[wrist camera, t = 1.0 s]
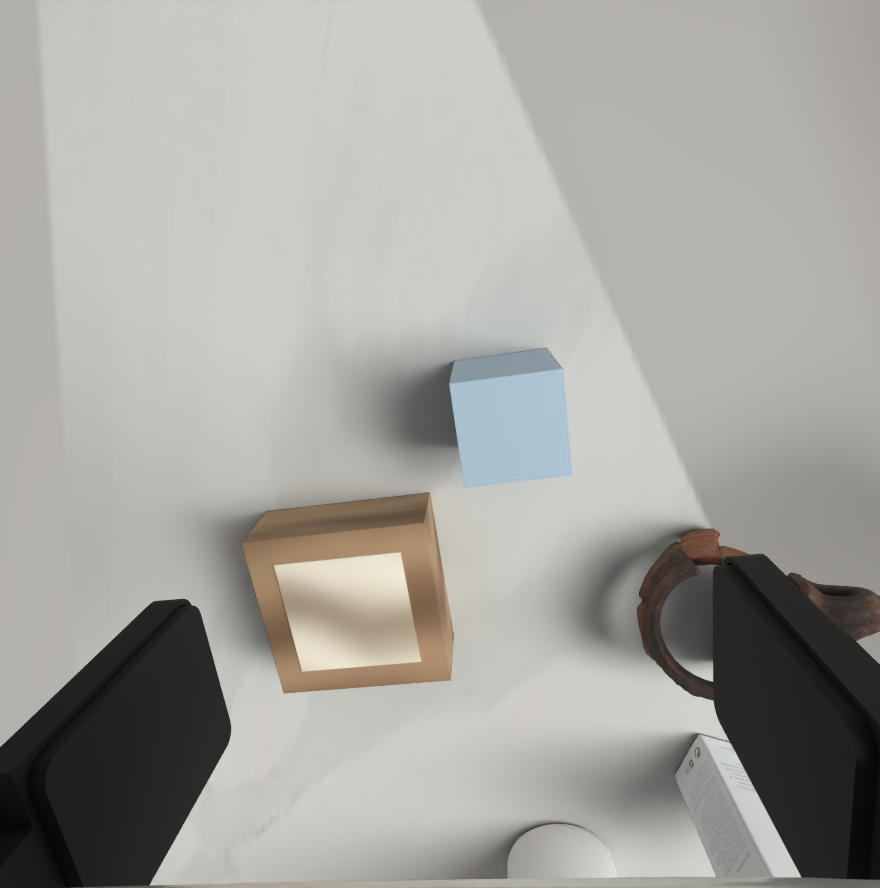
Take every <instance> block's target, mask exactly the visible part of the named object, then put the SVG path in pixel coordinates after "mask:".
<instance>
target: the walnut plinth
mask: <svg viewBox="0 0 880 888" xmlns="http://www.w3.org/2000/svg"><path fill="white" fill-rule="evenodd" d="M241 544H242V548H243V551H244V555H245V558H246V562H247V565H248V569H249V573H250V576H251V580H252V583H253V587H254V590H255V594H256V597H257V601H258V604H259V608H260V611H261V615H262V618H263V622H264V625H265V629H266V633H267V636H268V640H269V643H270V647H271V650H272V654H273V657H274V661H275V664H276V668H277V671H278V675H279V678H280V682H281V685H282V689H283V692H284V693H295V692H307V691H320V690H333V689H346V688H358V687H371V686H384V685H397V684H409V683H422V682H435V681H448V680H451V673H452V657H453V640H454V635H453V629H452V622H451V616H450V610H449V604H448V598H447V592H446V586H445V580H444V574H443V568H442V562H441V556H440V550H439V544H438V538H437V532H436V526H435V520H434V514H433V508H432V502H431V496H430V493H424V494H415V495H406V496H397V497H388V498H380V499H371V500H362V501H353V502H344V503H336V504H327V505H318V506H309V507H300V508H292V509H283V510H274V511H267V512H266V513H265V514H264V516H263V517H262V518H261V519H260V521H259V522H258V523H257V524H256V525H255V527H254V528H253V529H252V530H251V531H250V533H249V534H248V535H247V536H246V537H245V539H244V540H243V541H242V542H241Z"/></svg>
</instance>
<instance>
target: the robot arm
mask: <svg viewBox="0 0 880 888" xmlns="http://www.w3.org/2000/svg"><path fill="white" fill-rule="evenodd" d="M713 698H714V706H715V710H716V714H717V717H718V720H719V722H720V724H721V726H722V728H723V730H724V732H725V733H726V735H727V737H728V739H729V741H730V743H731V745H732V747H733V749H734V751H735V752H736V754H737V756H738V758H739V760H740V762H741V764H742V766H743V768H744V770H745V771H746V773H747V775H748V777H749V779H750V781H751V783H752V785H753V787H754V788H755V790H756V792H757V794H758V796H759V798H760V800H761V802H762V804H763V806H764V807H765V809H766V811H767V813H768V815H769V817H770V819H771V821H772V823H773V825H774V826H775V828H776V830H777V832H778V834H779V836H780V838H781V840H782V842H783V844H784V845H785V847H786V849H787V851H788V853H789V855H790V857H791V859H792V861H793V862H794V864H795V866H796V868H797V870H798V872H799V874H800V876H801V877H618V878H531V879H453V880H394V881H337V882H285V883H236V884H196V885H156V886H149V885H150V883H151V881H152V879H153V878H154V876H155V874H156V872H157V870H158V869H159V867H160V865H161V863H162V862H163V860H164V858H165V856H166V854H167V853H168V851H169V849H170V847H171V845H172V844H173V842H174V840H175V838H176V837H177V835H178V833H179V831H180V829H181V828H182V826H183V824H184V822H185V820H186V819H187V817H188V815H189V813H190V812H191V810H192V808H193V806H194V804H195V803H196V801H197V799H198V797H199V795H200V794H201V792H202V790H203V788H204V787H205V785H206V783H207V781H208V779H209V778H210V776H211V774H212V772H213V770H214V769H215V767H216V765H217V763H218V762H219V760H220V758H221V756H222V754H223V753H224V751H225V749H226V747H227V745H228V743H229V740H230V735H231V723H230V719H229V715H228V711H227V708H226V704H225V700H224V697H223V693H222V689H221V686H220V682H219V679H218V675H217V671H216V668H215V664H214V660H213V657H212V653H211V649H210V646H209V642H208V638H207V635H206V631H205V628H204V624H203V620H202V617H201V613H200V611H199V609H198V608H197V607H196V606H192V605H191V603H190V602H189V601H188V600H186V599H176V600H163V601H154V602H152V603H151V604H150V605H149V606H147V607H146V608H145V609H144V610H143V611H142V612H141V613H140V614H139V615H138V616H137V617H136V618H135V619H134V620H133V621H132V622H131V623H130V624H129V625H128V626H127V627H126V628H124V629H123V630H122V631H121V632H120V633H119V634H118V635H117V636H116V637H115V638H114V639H113V640H112V641H111V642H110V643H109V644H108V645H107V646H106V647H105V648H104V649H103V650H101V651H100V652H99V653H98V654H97V655H96V656H95V657H94V658H93V659H92V660H91V661H90V662H89V663H88V664H87V665H86V666H85V667H84V668H83V669H82V670H81V671H80V672H78V673H77V674H76V675H75V676H74V677H73V678H72V679H71V680H70V681H69V682H68V683H67V684H66V685H65V686H64V687H63V688H62V689H61V690H60V691H59V692H58V693H57V694H56V695H54V696H53V697H52V698H51V699H50V700H49V701H48V702H47V703H46V704H45V705H44V706H43V707H42V708H41V709H40V710H39V711H38V712H37V713H36V714H35V715H34V716H32V717H31V718H30V719H29V720H28V721H27V722H26V723H25V724H24V725H23V726H22V727H21V728H20V729H19V730H18V731H17V732H16V733H15V734H14V735H13V736H12V737H11V738H10V739H8V740H7V741H6V742H5V743H4V744H3V745H2V746H1V747H0V888H880V664H879V663H877V662H876V661H875V660H874V659H873V658H872V657H871V656H870V655H869V654H868V653H867V652H866V651H865V650H864V649H863V648H862V647H861V646H860V645H859V644H858V643H857V642H856V641H855V640H854V639H853V638H852V637H851V636H849V635H848V634H847V633H845V632H844V631H842V630H841V629H840V628H839V627H838V626H837V625H836V624H835V623H834V622H833V621H832V620H831V619H830V618H829V617H827V616H826V615H825V614H824V613H823V612H822V611H821V610H820V609H819V608H818V607H817V606H816V605H815V604H814V603H813V602H812V601H811V600H810V599H809V598H808V597H807V596H806V595H805V594H804V593H803V592H802V591H801V590H800V589H799V588H798V587H797V586H796V585H795V584H794V583H793V582H792V581H791V580H790V579H789V578H788V577H787V576H786V575H785V574H784V573H783V572H782V571H781V570H780V569H779V568H778V567H777V566H776V565H774V563H773V562H772V561H771V560H770V559H769V558H767V556H765V555H764V554H754V555H740V556H727V557H726V558H725V559H724V562H723V565H722V566H715V567H714V570H713Z"/></svg>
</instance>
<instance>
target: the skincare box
mask: <svg viewBox="0 0 880 888" xmlns="http://www.w3.org/2000/svg"><path fill="white" fill-rule="evenodd" d="M676 781H677V784H678V786H679V788H680V791H681V793H682V796H683V798H684V800H685V803H686V805H687V808H688V810H689V812H690V815H691V817H692V820H693V822H694V825H695V827H696V829H697V832H698V834H699V836H700V839H701V841H702V844H703V846H704V848H705V851H706V853H707V856H708V858H709V860H710V863H711V865H712V868H713V870H714V872H715V875H716V877H801V876H800V874H799V872H798V870H797V868H796V866H795V864H794V862H793V861H792V859H791V857H790V855H789V853H788V851H787V849H786V847H785V845H784V844H783V842H782V840H781V838H780V836H779V834H778V832H777V830H776V828H775V826H774V825H773V823H772V821H771V819H770V817H769V815H768V813H767V811H766V809H765V807H764V806H763V804H762V802H761V800H760V798H759V796H758V794H757V792H756V790H755V788H754V787H753V785H752V783H751V781H750V779H749V777H748V775H747V773H746V771H745V770H744V768H743V766H742V764H741V762H740V760H739V758H738V756H737V754H736V752H735V751H734V749H733V747H732V745H731V743H729V742H725V741H721V740H718V739H714V738H710V737H707V736H703V735H698V737H697V738H696V740H695V741H694V743H693V744H692V746H691V747H690V749H689V751H688V753H687V754H686V756H685V758H684V760H683V761H682V763H681V765H680V767H679V769H678V771H677V772H676Z"/></svg>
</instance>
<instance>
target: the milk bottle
mask: <svg viewBox="0 0 880 888" xmlns="http://www.w3.org/2000/svg"><path fill="white" fill-rule="evenodd" d="M531 878H617V874H616V870H615V866H614V862H613V859H612V856H611V853H610V852H609V850H608V848H607V847H606V846H605V844H604V843H603V842H602V841H601V840H600V838H598V837H597V836H596V835H594V834H593V833H592V832H590V831H587V830H586V829H584V828H580V827H577V826H574V825H567V824H550V825H543V826H540V827H537V828H534V829H532V830H530V831H528V832H526V833H525V834H523V835H522V836H521V837H519V839H518V840H517V841H516V842H515V843H514V845H513V847H512V849H511V851H510V853H509V856H508V861H507V879H531Z"/></svg>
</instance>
